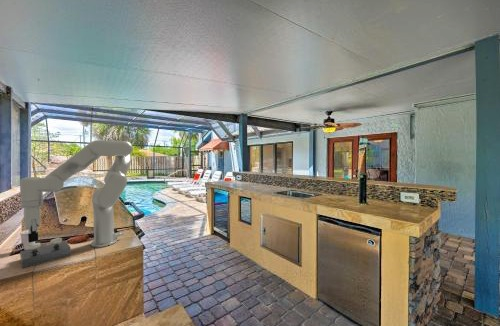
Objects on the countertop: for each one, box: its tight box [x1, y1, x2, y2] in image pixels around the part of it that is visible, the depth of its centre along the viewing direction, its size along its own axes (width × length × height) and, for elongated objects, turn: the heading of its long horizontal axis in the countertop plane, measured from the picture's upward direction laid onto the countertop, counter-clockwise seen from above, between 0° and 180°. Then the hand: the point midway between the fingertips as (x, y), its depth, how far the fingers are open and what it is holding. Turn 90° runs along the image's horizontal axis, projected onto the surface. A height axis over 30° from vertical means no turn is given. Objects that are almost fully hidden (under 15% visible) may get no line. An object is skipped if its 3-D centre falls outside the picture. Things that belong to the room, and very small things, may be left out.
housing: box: [19, 240, 72, 269], centre depth 109 cm, size 17×12×4 cm
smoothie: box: [19, 229, 36, 251], centre depth 117 cm, size 6×6×14 cm
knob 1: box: [28, 242, 42, 253], centre depth 106 cm, size 4×4×5 cm
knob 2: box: [49, 237, 63, 248], centre depth 112 cm, size 4×4×5 cm
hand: (33, 241), depth 105 cm, fingers closed
